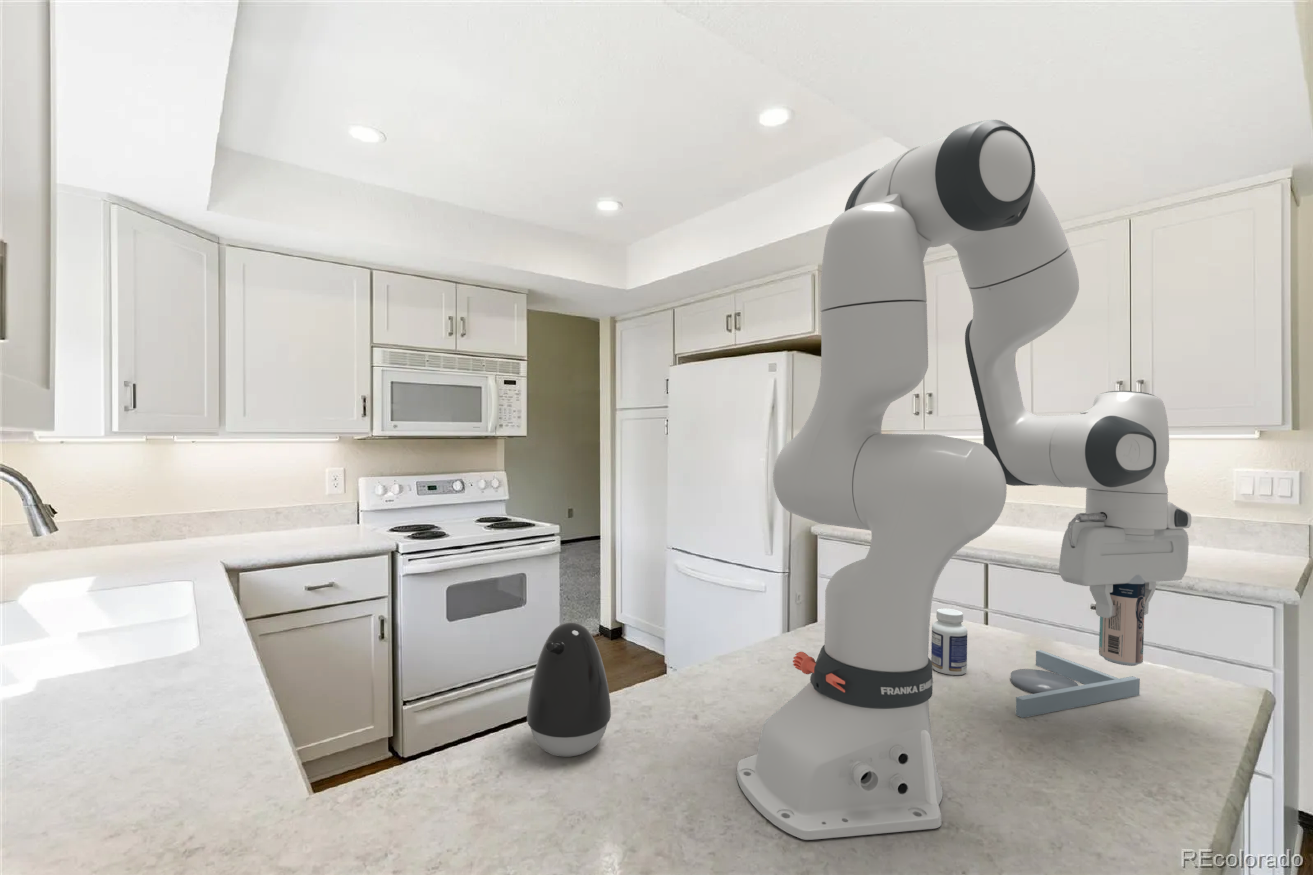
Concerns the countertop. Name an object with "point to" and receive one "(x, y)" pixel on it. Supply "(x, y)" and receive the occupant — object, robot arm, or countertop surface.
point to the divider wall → (1074, 688)
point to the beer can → (1124, 625)
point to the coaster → (1039, 680)
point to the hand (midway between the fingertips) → (1122, 615)
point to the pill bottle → (949, 643)
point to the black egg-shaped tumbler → (569, 693)
